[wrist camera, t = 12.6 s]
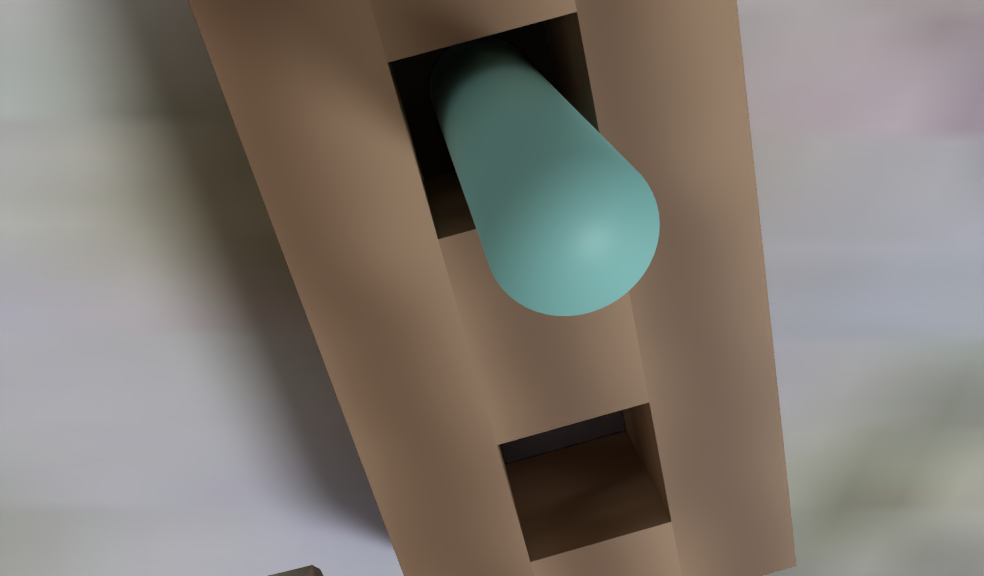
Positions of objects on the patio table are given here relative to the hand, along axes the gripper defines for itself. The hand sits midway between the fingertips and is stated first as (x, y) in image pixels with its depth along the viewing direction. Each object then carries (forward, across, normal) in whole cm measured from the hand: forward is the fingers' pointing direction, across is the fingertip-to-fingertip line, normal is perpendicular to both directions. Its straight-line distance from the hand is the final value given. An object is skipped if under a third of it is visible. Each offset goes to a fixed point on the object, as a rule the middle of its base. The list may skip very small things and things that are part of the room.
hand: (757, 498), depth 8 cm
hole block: (+19, 0, +6) cm, 20 cm away
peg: (+19, 0, 0) cm, 19 cm away
